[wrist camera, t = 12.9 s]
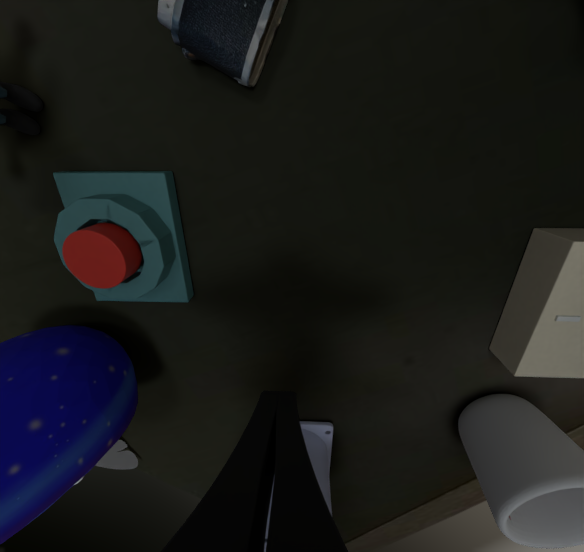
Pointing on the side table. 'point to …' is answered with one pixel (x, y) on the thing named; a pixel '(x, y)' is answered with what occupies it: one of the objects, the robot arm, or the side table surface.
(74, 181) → the button block
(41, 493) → the ornament
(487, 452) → the cup
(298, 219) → the side table surface
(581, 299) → the panel
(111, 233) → the button
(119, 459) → the fairy figurine
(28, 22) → the side table surface
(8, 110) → the character figure
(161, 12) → the camera
